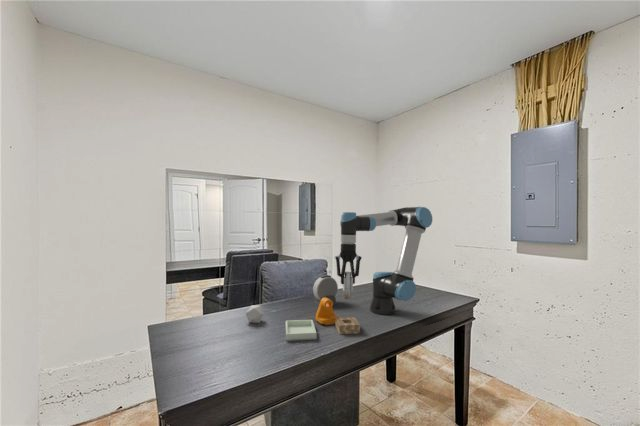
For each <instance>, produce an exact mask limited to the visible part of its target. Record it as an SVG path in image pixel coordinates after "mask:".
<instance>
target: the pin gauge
mask: <svg viewBox="0 0 640 426" xmlns="http://www.w3.org/2000/svg"><path fill="white" fill-rule="evenodd" d="M344 277H345V278H346V285H345V291H343V292H344V294H343V295H344V300H351V299H352V291H351V277H352V275H351V271H345V275H344Z"/></svg>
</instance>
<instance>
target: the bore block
mask: <svg viewBox="0 0 640 426" xmlns="http://www.w3.org/2000/svg"><path fill="white" fill-rule="evenodd" d="M334 324H335V325H334V326H335V329H336V330H337V332H338V335H347V334H348V335H349V334H350V335H351V334H361V325H360V323H359V321H358V320H357V319H356V318H355V317H353V316H351V317H339V318H335V323H334Z"/></svg>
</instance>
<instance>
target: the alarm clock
mask: <svg viewBox="0 0 640 426" xmlns="http://www.w3.org/2000/svg"><path fill="white" fill-rule="evenodd" d="M313 284H314V285H313V286H312V291H313V292H312V293H313V296H314V304H315V305H317V306H318V307H319V304H320V301H321V299H322V298H324V297H326V298H328V299H330V300H332V302H333V305H336V304H337V299H336V296H337V294H338V290H339V289H338V288H339V286H338V282H337V281H336V279H335V278H333V277H332V276H331V275H329V274H323V275H321V276H320V277H318V278H317V279H316V280H315V282H314V283H313Z"/></svg>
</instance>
